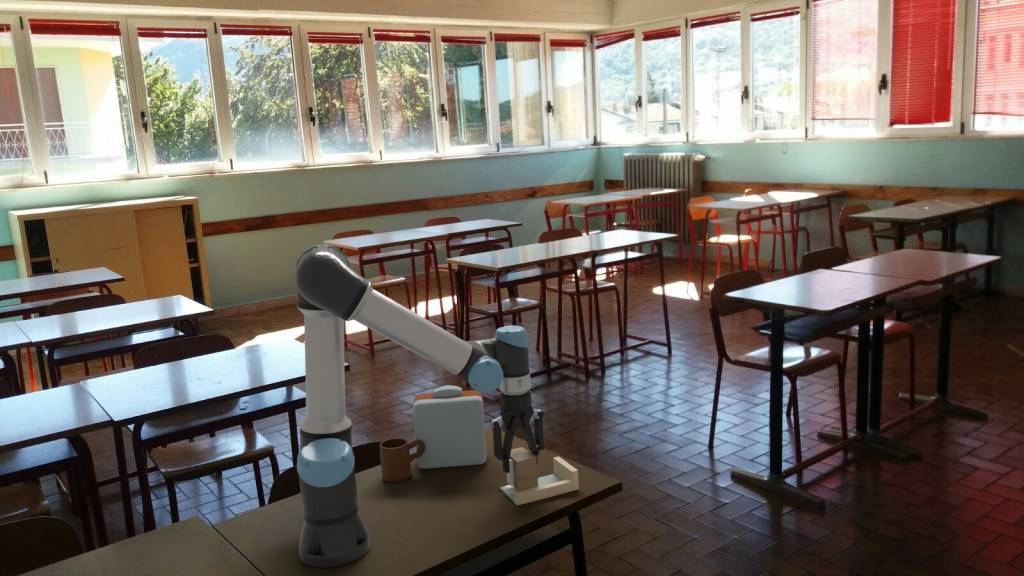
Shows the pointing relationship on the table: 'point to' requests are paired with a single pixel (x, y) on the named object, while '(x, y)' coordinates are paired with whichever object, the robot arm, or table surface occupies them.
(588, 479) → the table surface
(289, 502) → the table surface
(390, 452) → the mug
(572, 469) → the toy stand
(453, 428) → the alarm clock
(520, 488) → the block
